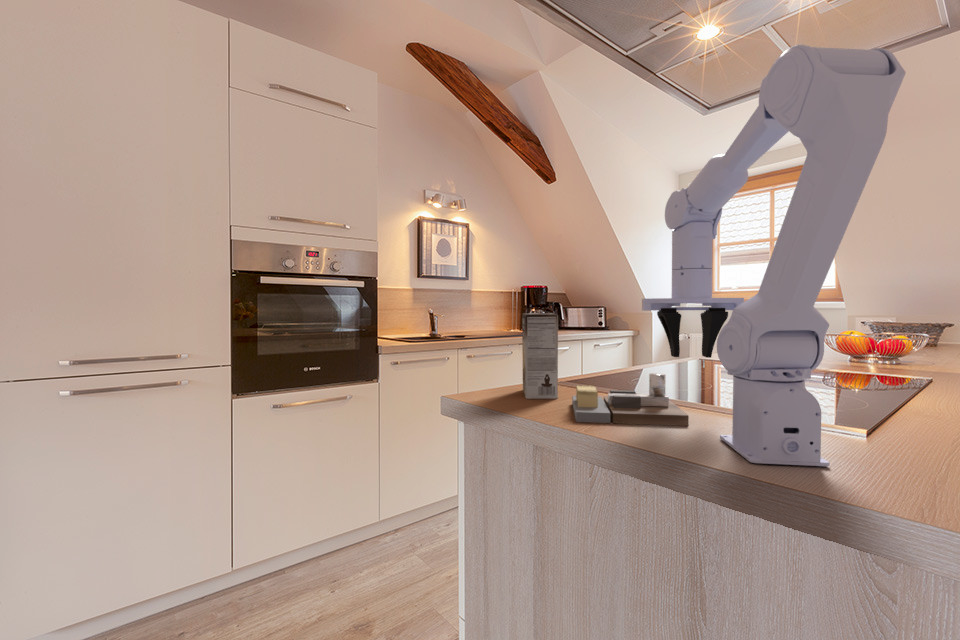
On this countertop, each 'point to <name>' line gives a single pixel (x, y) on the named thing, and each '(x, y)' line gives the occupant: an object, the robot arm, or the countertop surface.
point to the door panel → (643, 411)
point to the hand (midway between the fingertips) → (690, 356)
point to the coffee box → (540, 355)
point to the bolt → (650, 392)
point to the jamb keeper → (589, 405)
